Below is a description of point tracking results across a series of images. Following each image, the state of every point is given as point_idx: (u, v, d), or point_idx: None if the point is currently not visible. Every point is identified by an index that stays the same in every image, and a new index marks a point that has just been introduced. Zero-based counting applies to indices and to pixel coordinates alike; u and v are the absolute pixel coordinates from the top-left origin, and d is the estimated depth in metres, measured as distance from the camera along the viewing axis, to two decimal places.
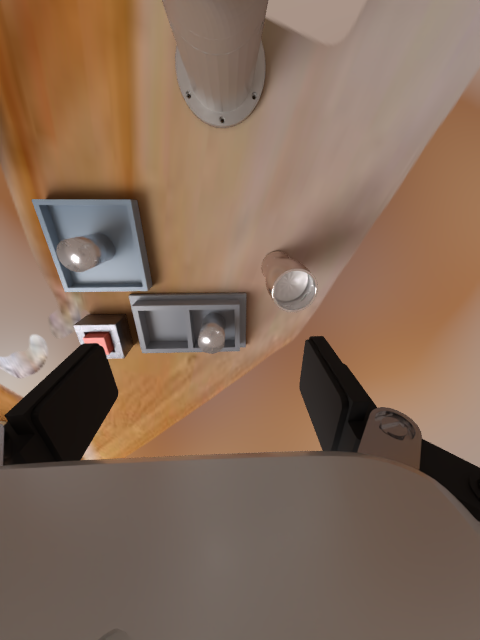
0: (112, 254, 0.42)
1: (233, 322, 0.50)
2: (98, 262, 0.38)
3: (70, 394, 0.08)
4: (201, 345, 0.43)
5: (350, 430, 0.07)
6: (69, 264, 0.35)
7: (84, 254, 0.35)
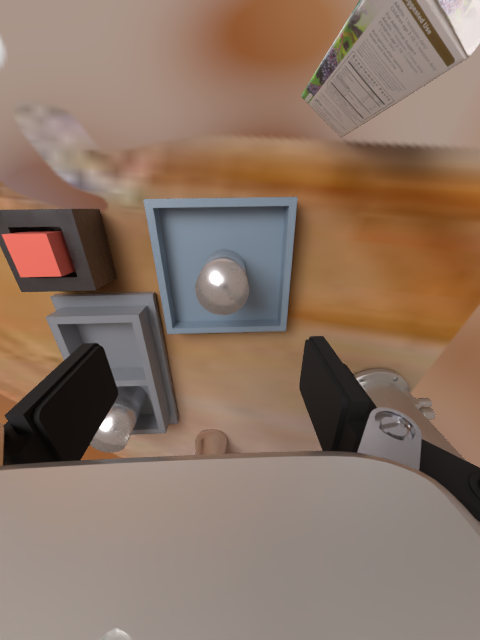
0: None
1: None
2: None
3: (70, 394, 0.08)
4: None
5: (350, 430, 0.07)
6: (207, 279, 0.21)
7: (225, 306, 0.22)
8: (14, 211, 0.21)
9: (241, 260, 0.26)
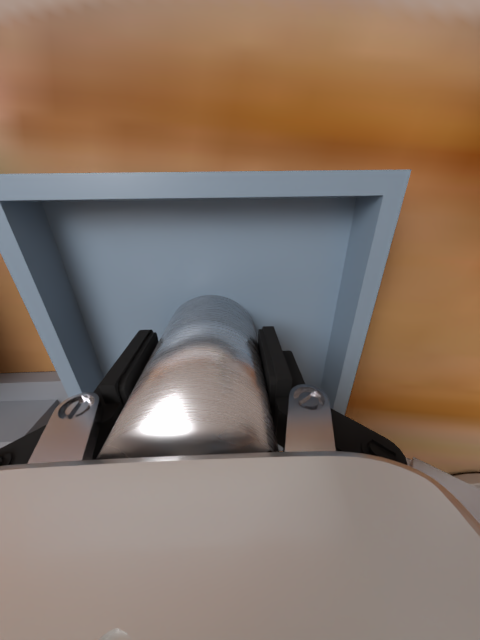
0: None
1: None
2: None
3: (140, 372, 0.09)
4: None
5: (276, 405, 0.08)
6: None
7: None
8: None
9: (249, 326, 0.11)
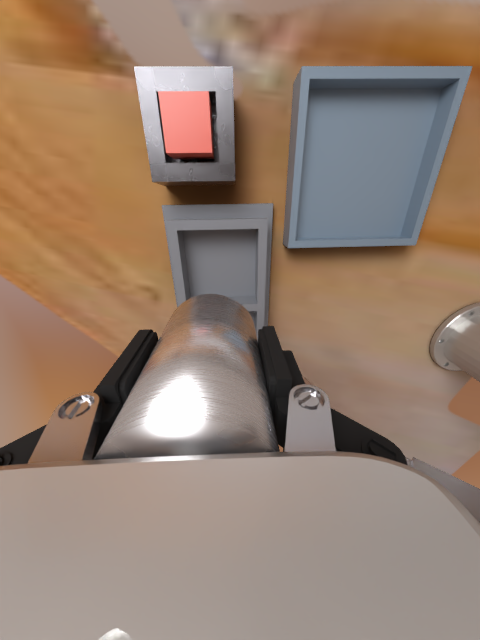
0: None
1: None
2: None
3: (140, 372, 0.09)
4: None
5: (276, 405, 0.08)
6: None
7: None
8: (168, 68, 0.19)
9: (249, 325, 0.11)
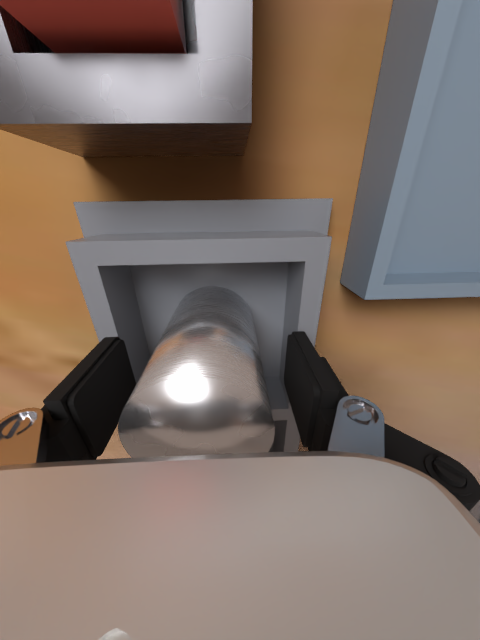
0: None
1: None
2: None
3: (98, 383, 0.08)
4: None
5: (321, 417, 0.07)
6: (152, 414, 0.07)
7: None
8: None
9: (247, 313, 0.12)
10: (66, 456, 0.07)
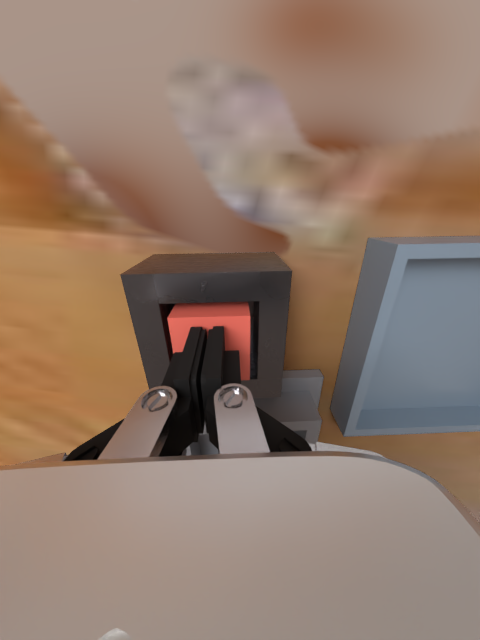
0: None
1: None
2: None
3: (201, 367, 0.09)
4: None
5: (207, 404, 0.08)
6: None
7: None
8: (179, 276, 0.11)
9: None
10: (190, 430, 0.08)
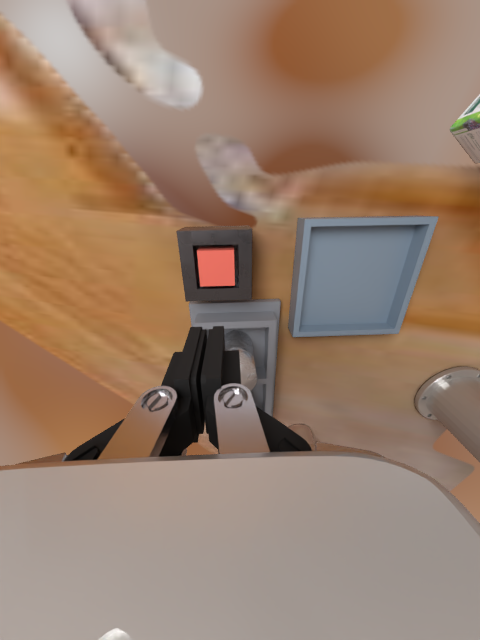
0: None
1: None
2: None
3: (201, 367, 0.09)
4: None
5: (207, 404, 0.08)
6: None
7: None
8: (202, 231, 0.24)
9: (250, 342, 0.33)
10: (190, 430, 0.08)
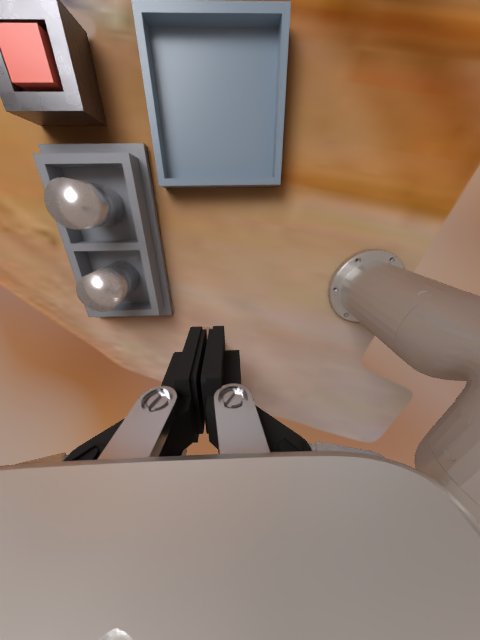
0: None
1: (130, 301, 0.38)
2: None
3: (201, 367, 0.09)
4: (87, 279, 0.28)
5: (207, 403, 0.08)
6: (53, 191, 0.24)
7: (75, 221, 0.25)
8: None
9: (113, 194, 0.29)
10: (190, 430, 0.08)
